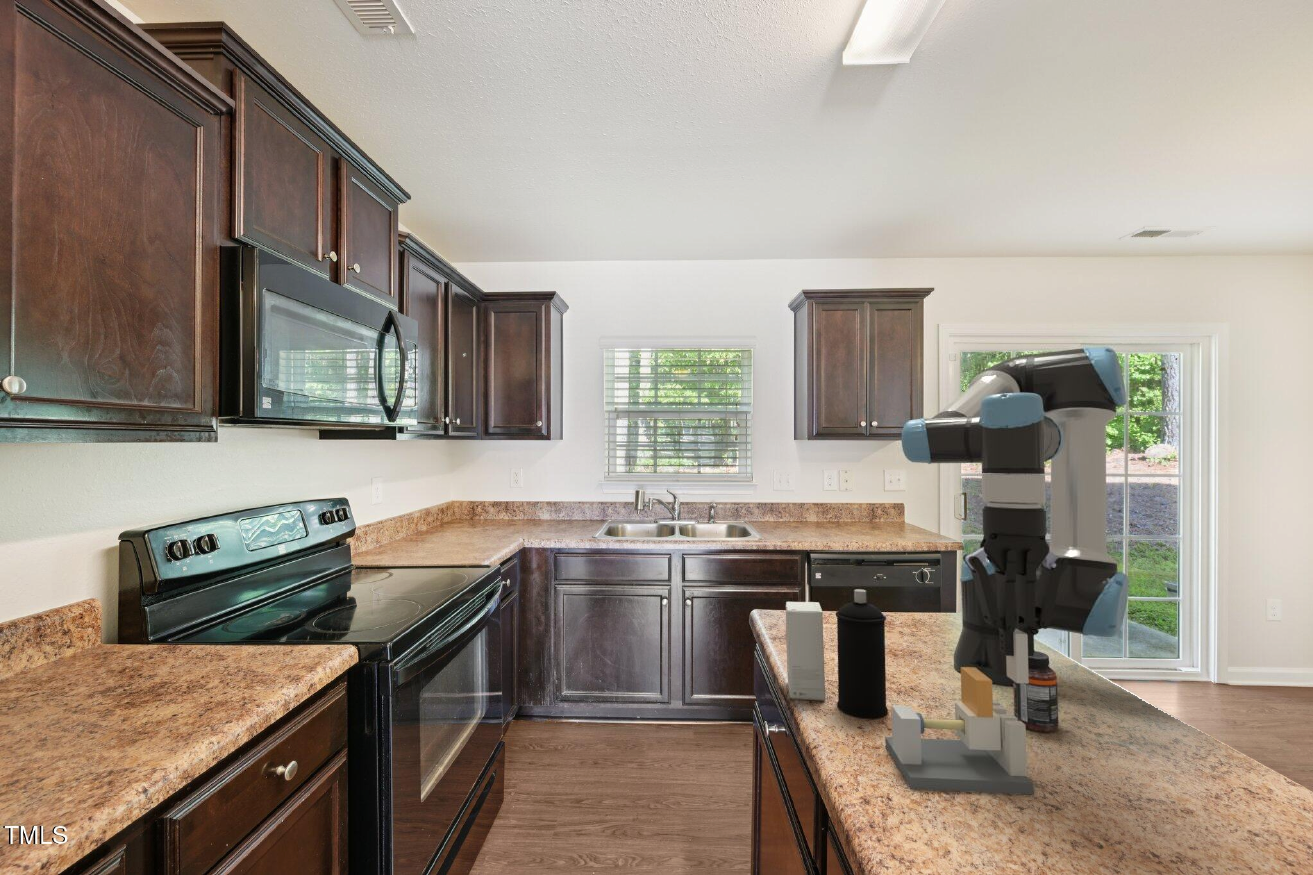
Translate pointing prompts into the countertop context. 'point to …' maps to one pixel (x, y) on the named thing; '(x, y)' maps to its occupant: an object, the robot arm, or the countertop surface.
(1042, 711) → the supplement bottle
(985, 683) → the sleeve
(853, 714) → the aerosol can
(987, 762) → the cord board
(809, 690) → the skincare box
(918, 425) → the robot arm
